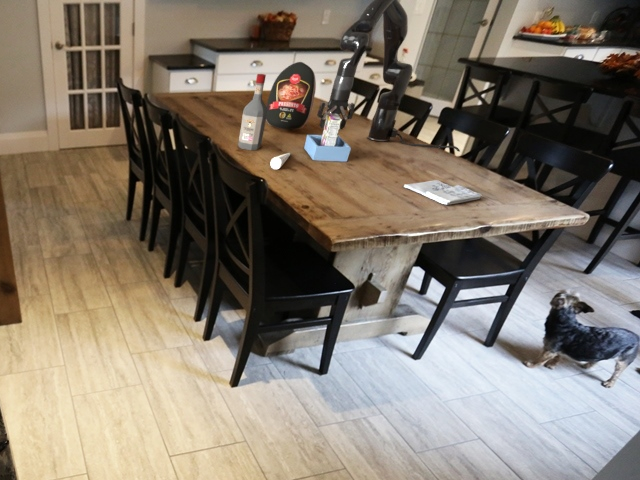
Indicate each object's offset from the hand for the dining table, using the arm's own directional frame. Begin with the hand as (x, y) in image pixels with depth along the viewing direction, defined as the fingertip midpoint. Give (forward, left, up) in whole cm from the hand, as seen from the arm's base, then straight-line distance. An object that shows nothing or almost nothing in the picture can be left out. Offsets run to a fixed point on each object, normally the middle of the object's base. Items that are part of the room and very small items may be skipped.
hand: (331, 128), depth 215 cm
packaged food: (+10, -42, -11) cm, 44 cm away
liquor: (+33, -7, -11) cm, 35 cm away
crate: (0, 0, -11) cm, 11 cm away
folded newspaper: (-33, +42, -11) cm, 55 cm away
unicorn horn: (+22, +13, -11) cm, 28 cm away
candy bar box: (0, 0, -11) cm, 11 cm away
